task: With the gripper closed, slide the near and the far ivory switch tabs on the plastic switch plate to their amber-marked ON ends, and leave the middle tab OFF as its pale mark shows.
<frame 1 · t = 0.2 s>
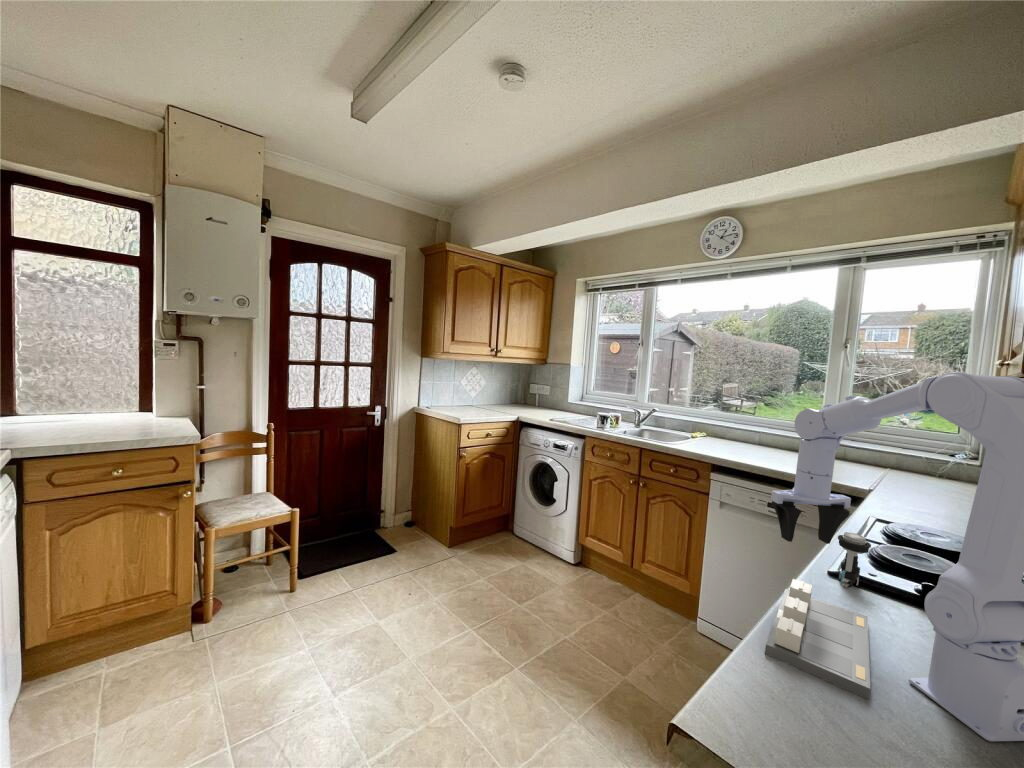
hand: (805, 540, 83), 10 cm above the worktop, tool pointing down, fingers open, 7 cm apart
middle tab: (795, 610, 70), point 3 cm above the worktop, slide at 0.0 cm
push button: (847, 584, 87), on the worktop
switch plate: (819, 638, 68), on the worktop
near tab: (789, 632, 64), point 3 cm above the worktop, slide at 0.0 cm
far tab: (800, 592, 77), point 3 cm above the worktop, slide at 0.0 cm
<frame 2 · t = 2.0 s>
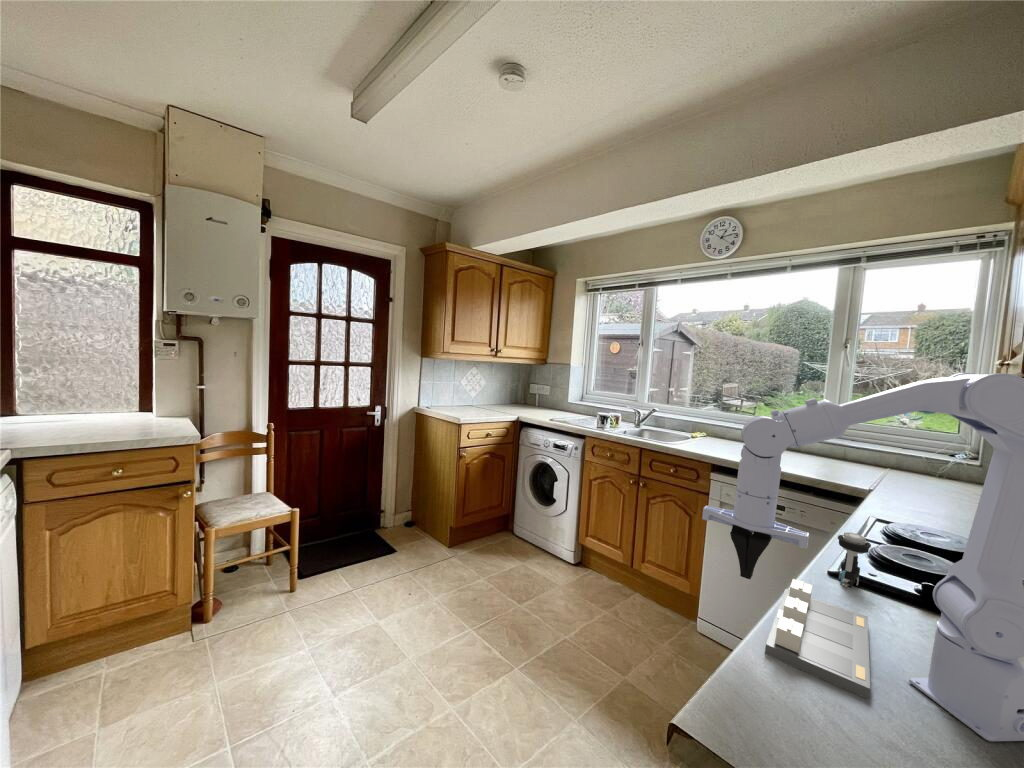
hand: (746, 575, 68), 9 cm above the worktop, tool pointing down, fingers closed
nothing on the worktop moved.
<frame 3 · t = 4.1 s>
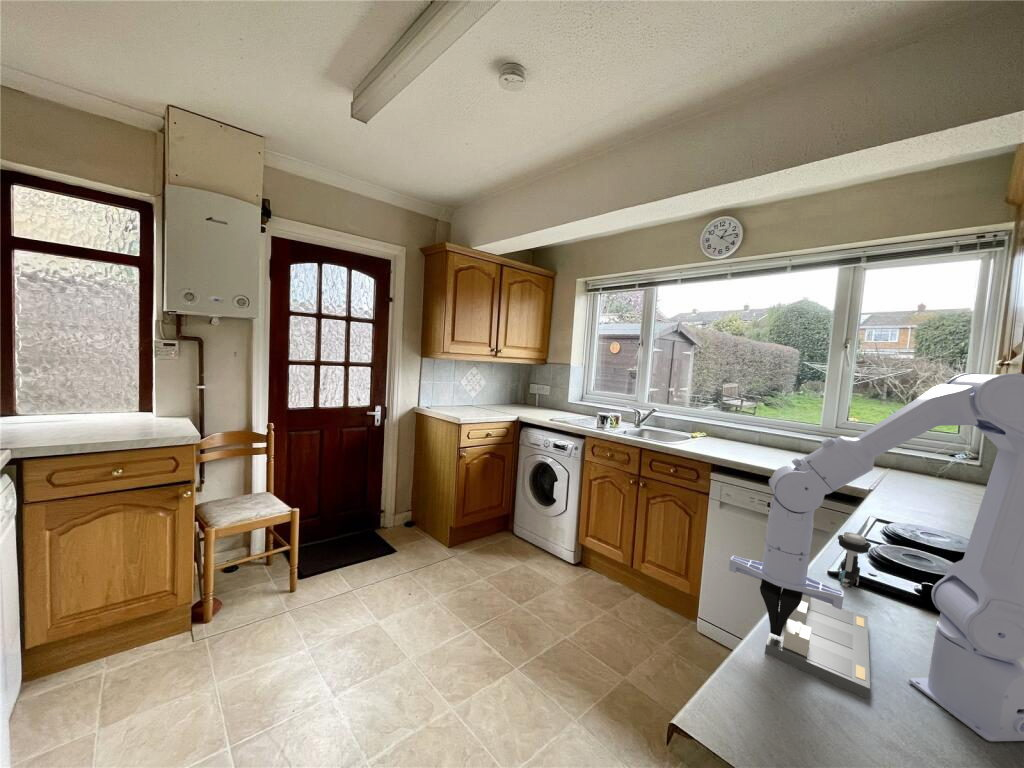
hand: (776, 632, 65), 2 cm above the worktop, tool pointing down, fingers closed
near tab: (797, 636, 64), point 3 cm above the worktop, slide at 1.0 cm, touching gripper
everything else where it was.
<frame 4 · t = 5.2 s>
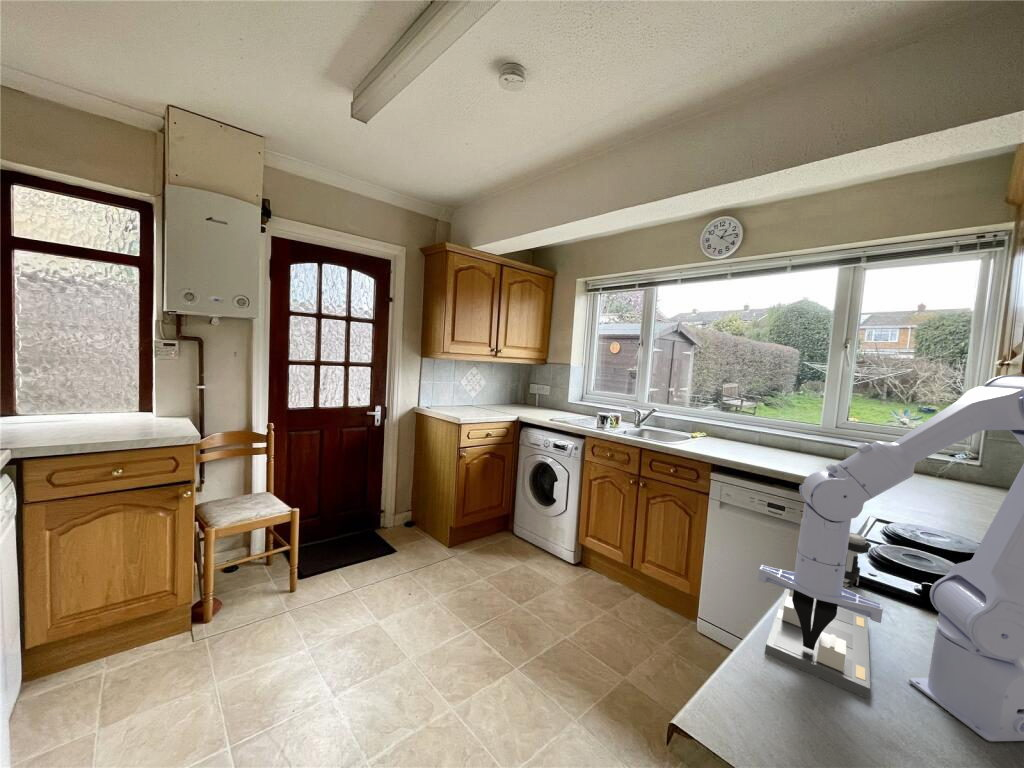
hand: (808, 645, 63), 2 cm above the worktop, tool pointing down, fingers closed
near tab: (831, 649, 61), point 3 cm above the worktop, slide at 5.1 cm, touching gripper
everything else where it was.
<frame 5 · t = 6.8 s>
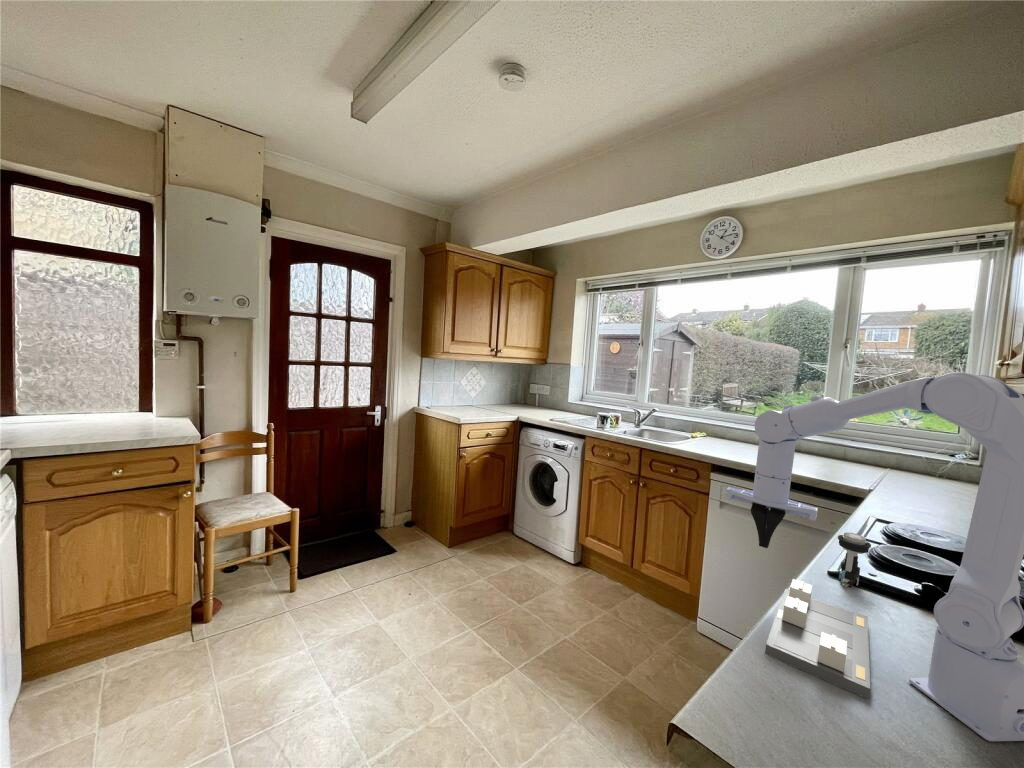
hand: (763, 545, 80), 9 cm above the worktop, tool pointing down, fingers closed
near tab: (832, 650, 61), point 3 cm above the worktop, slide at 5.2 cm
everything else where it was.
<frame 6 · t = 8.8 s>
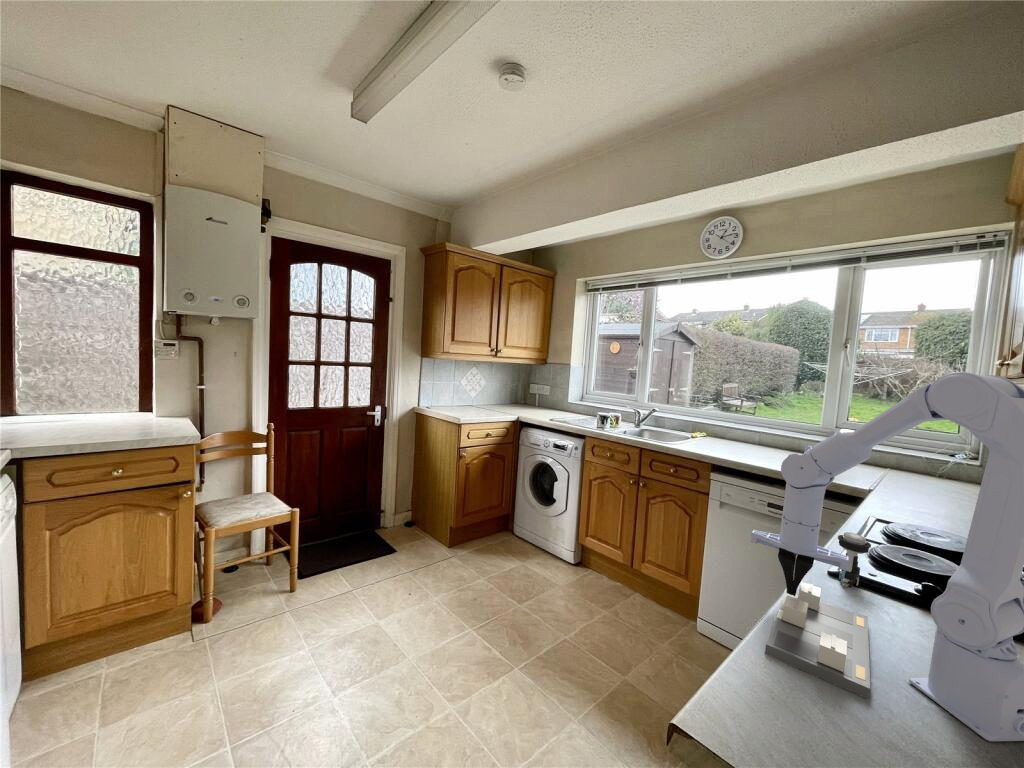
hand: (791, 592, 77), 2 cm above the worktop, tool pointing down, fingers closed
far tab: (809, 595, 76), point 3 cm above the worktop, slide at 1.3 cm, touching gripper
everything else where it was.
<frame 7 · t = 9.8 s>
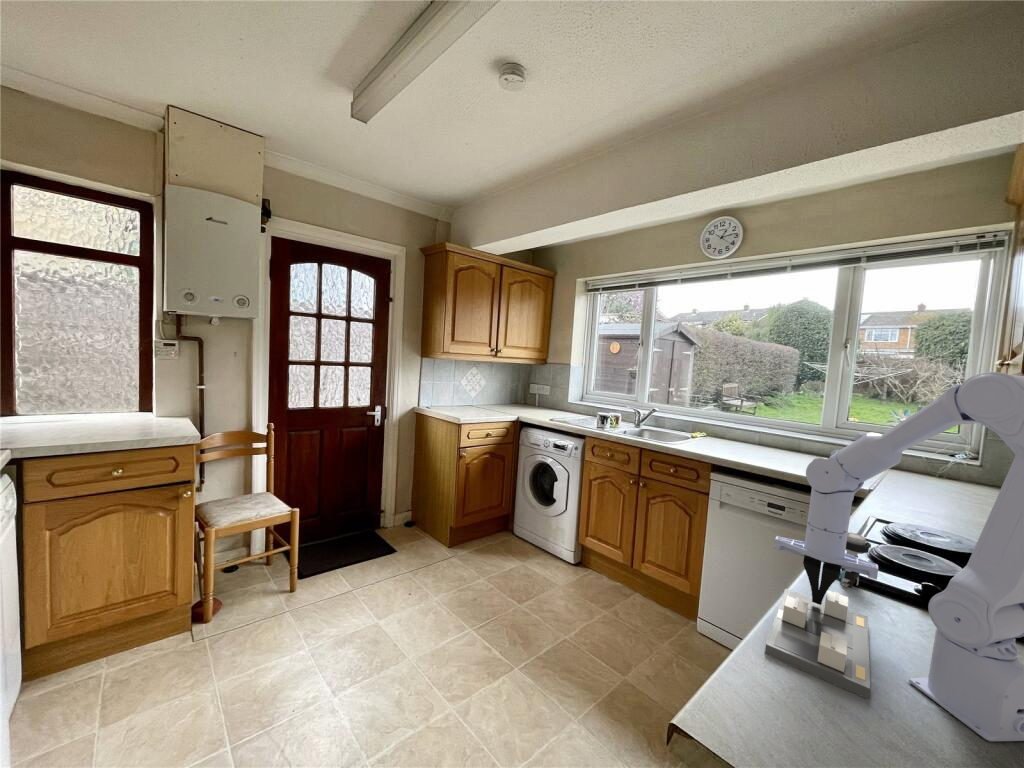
hand: (817, 601, 75), 2 cm above the worktop, tool pointing down, fingers closed
far tab: (836, 604, 73), point 3 cm above the worktop, slide at 5.1 cm, touching gripper
everything else where it was.
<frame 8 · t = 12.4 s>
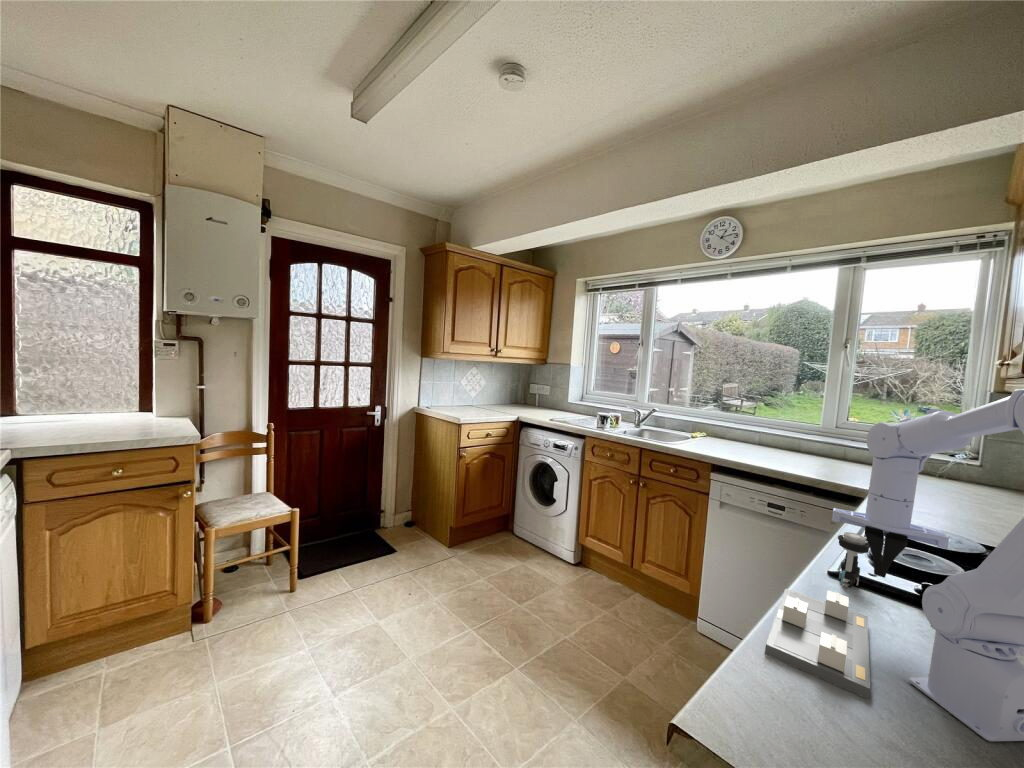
hand: (879, 574, 72), 9 cm above the worktop, tool pointing down, fingers closed
far tab: (836, 604, 73), point 3 cm above the worktop, slide at 5.2 cm
everything else where it was.
at the end: near tab slide at 5.2 cm; far tab slide at 5.2 cm; middle tab slide at 0.0 cm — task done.
